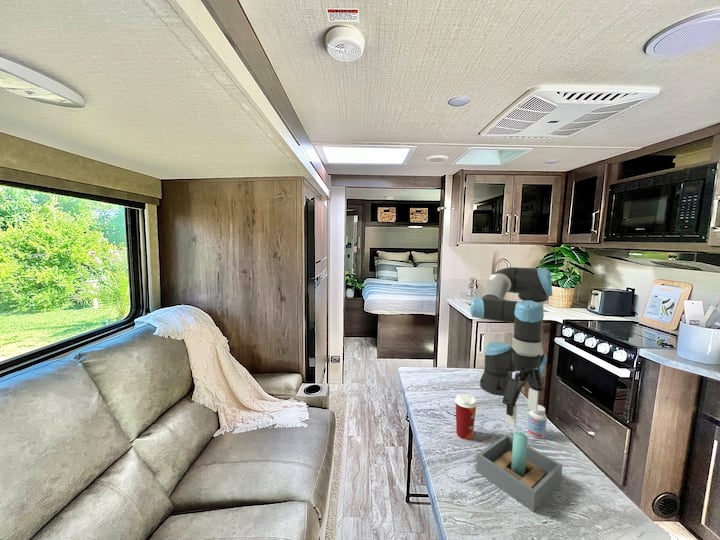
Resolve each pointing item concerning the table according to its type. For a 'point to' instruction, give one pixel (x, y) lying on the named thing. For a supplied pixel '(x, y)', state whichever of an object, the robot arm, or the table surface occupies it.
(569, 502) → the table surface
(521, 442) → the peg
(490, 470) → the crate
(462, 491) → the table surface
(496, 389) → the robot arm
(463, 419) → the coffee cup
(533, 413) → the pill bottle
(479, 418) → the table surface
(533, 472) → the bore block
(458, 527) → the table surface
